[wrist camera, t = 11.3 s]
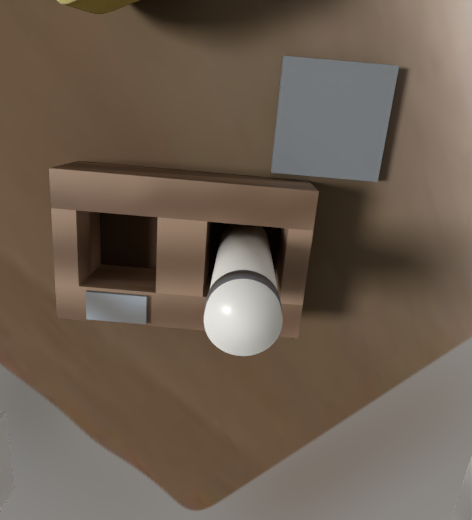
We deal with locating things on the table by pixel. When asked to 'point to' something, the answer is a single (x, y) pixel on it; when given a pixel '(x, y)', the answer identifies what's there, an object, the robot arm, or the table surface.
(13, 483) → the robot arm
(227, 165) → the table surface
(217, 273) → the plug
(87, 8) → the flower pot
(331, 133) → the mat
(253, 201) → the socket block
